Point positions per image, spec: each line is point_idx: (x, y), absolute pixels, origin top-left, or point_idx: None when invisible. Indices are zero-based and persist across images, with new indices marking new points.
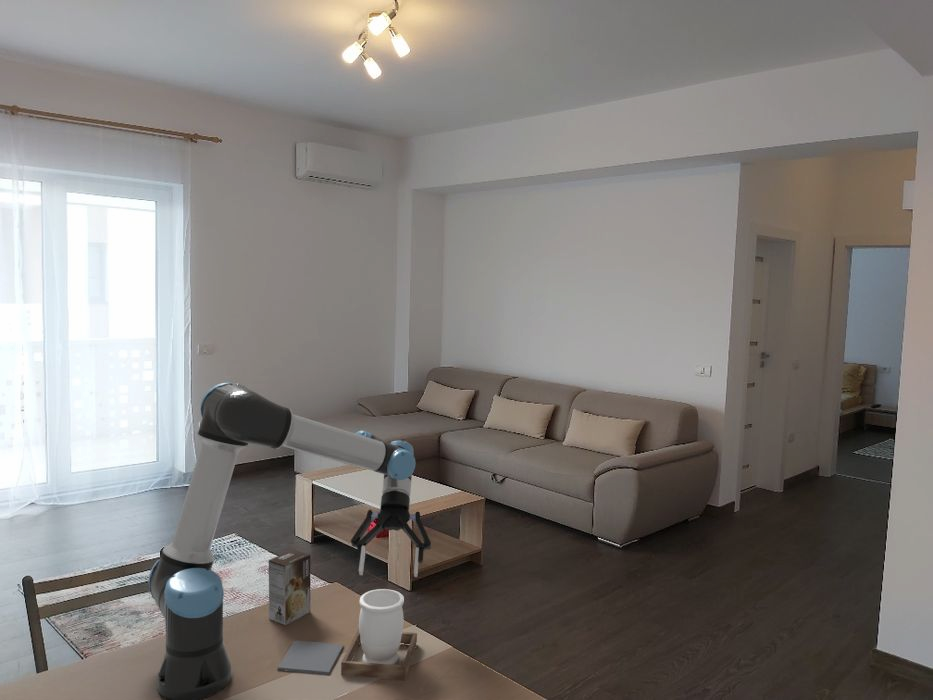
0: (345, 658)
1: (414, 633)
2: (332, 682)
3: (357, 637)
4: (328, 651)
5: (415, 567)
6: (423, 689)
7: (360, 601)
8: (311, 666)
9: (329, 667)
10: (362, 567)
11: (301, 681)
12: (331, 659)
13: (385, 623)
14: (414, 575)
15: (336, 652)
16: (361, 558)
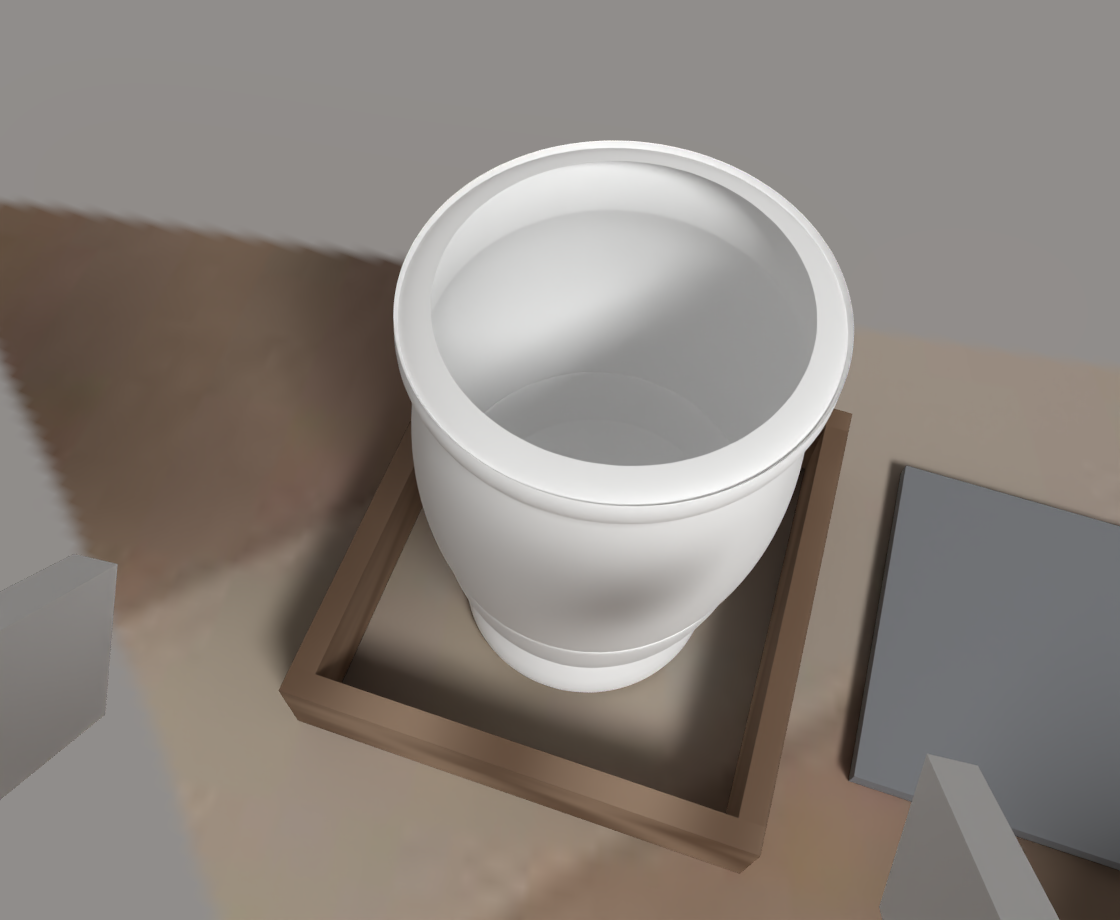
0: (829, 447)
1: (300, 685)
2: (869, 404)
3: (761, 709)
4: (951, 694)
5: (46, 589)
6: (390, 278)
7: (839, 294)
8: (1026, 535)
9: (911, 508)
10: (932, 835)
11: (1045, 439)
12: (913, 591)
13: (593, 241)
14: (104, 661)
15: (891, 672)
16: (1024, 900)
